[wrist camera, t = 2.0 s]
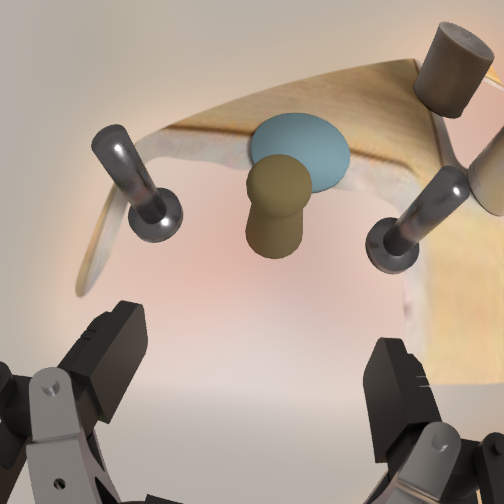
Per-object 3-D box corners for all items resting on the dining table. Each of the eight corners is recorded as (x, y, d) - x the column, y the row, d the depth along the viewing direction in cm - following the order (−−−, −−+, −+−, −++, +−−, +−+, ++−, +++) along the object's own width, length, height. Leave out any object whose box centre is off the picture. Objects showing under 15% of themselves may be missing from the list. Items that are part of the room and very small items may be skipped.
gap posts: (412, 227, 33) (476, 160, 20) (414, 277, 31) (490, 225, 18) (141, 192, 35) (93, 112, 22) (126, 239, 33) (63, 171, 20)
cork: (239, 213, 34) (231, 151, 24) (292, 200, 34) (304, 136, 24) (253, 265, 32) (251, 218, 22) (310, 250, 32) (332, 198, 22)
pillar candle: (469, 123, 39) (509, 61, 25) (423, 113, 39) (461, 41, 25) (448, 85, 43) (478, 26, 29) (405, 75, 43) (431, 8, 29)
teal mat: (347, 124, 38) (348, 120, 37) (348, 201, 34) (350, 197, 34) (258, 112, 39) (258, 108, 38) (243, 186, 35) (243, 183, 34)
